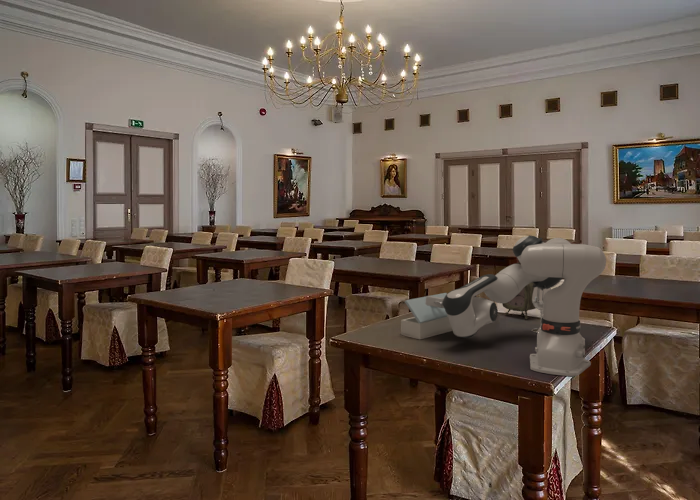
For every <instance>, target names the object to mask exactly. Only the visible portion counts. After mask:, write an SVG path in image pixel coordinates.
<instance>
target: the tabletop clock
mask: <svg viewBox="0 0 700 500" xmlns="http://www.w3.org/2000/svg"><path fill="white" fill-rule="evenodd" d="M515 264H520V265H521V263H520V262H516V263H515ZM533 284H534V283H529V284H527V285H526V286H525V287H524V288H523V289H522V290H521V292H520V293H519V294H518V295H517V296H515V297H514V298H513V299H512V300H511V301H509V302H507V303H501V305H502V306H503V308H504V309H507V311H506V312H504V315H505V316H509V313H510V312H511V311H513V312H521V314H520V316H522V317H524V319H525V320H529V316H528V311H532V310H535V309H536V310H537V308H535V307H534V305H533V303H532V294H533V289H534V287H532V285H533Z"/></svg>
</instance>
